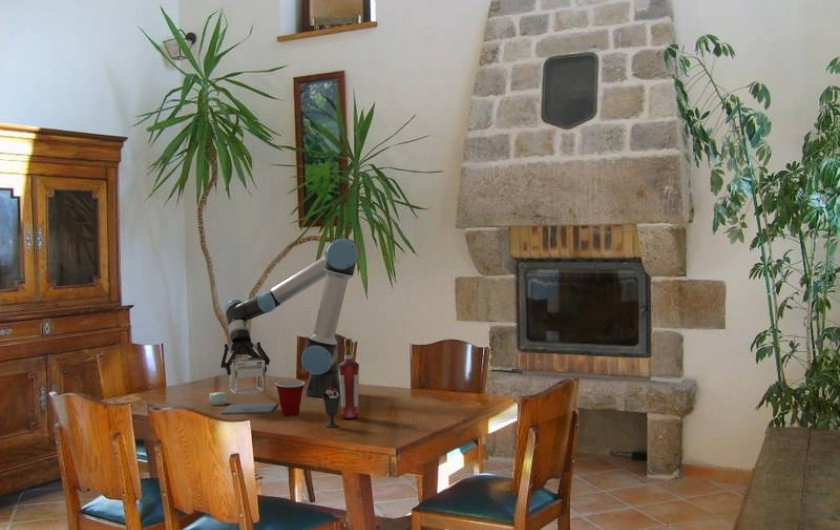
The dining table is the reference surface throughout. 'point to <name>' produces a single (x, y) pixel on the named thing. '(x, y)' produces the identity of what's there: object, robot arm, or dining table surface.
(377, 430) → the dining table surface
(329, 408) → the sundae
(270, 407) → the mat
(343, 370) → the liquor
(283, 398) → the plastic cup
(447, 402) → the dining table surface
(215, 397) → the soap bar
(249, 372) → the clear glass cube
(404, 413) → the dining table surface
